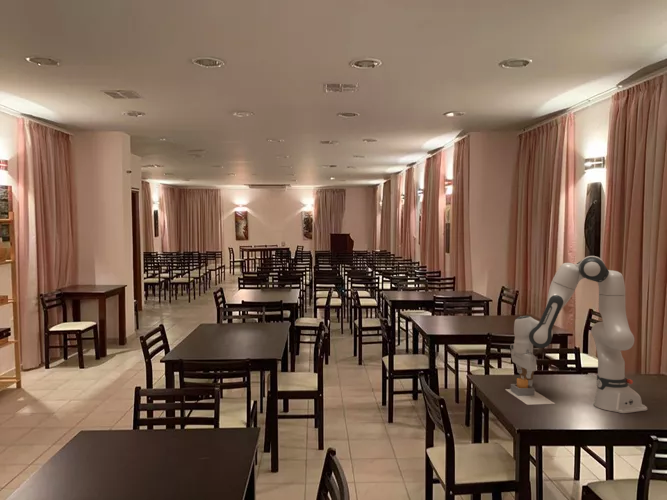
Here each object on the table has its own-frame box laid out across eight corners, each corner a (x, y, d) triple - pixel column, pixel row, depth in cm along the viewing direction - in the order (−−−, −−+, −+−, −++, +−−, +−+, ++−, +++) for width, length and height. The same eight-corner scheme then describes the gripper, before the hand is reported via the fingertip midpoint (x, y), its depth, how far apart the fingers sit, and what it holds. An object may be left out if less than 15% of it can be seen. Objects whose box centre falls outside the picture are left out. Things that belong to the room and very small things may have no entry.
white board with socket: (530, 390, 271) (530, 381, 271) (555, 405, 247) (555, 396, 247) (504, 391, 269) (504, 382, 269) (527, 406, 245) (527, 397, 245)
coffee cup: (518, 386, 277) (518, 358, 277) (517, 382, 285) (518, 355, 285) (535, 388, 275) (535, 359, 274) (534, 383, 283) (534, 356, 282)
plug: (524, 391, 265) (524, 374, 265) (527, 394, 261) (528, 377, 261) (516, 392, 265) (516, 375, 264) (520, 394, 261) (520, 377, 260)
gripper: (539, 352, 252) (540, 380, 253) (520, 343, 272) (520, 370, 273) (527, 353, 251) (527, 381, 252) (508, 344, 272) (509, 370, 272)
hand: (524, 375), depth 263 cm, fingers open, 8 cm apart
